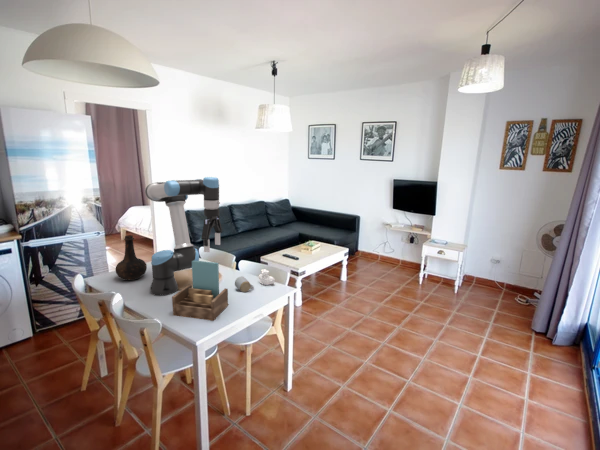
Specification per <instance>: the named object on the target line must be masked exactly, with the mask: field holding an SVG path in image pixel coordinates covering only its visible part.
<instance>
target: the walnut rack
mask: <svg viewBox="0 0 600 450" xmlns="http://www.w3.org/2000/svg"><path fill="white" fill-rule="evenodd" d="M189 288H193V284H188V285H187V286H185V287H184V288H182V289H181V290H180V291H177V293H174V295H172V297H171V301H172V302H171V303H172V316H175V317H180V318H181V317H183V318H190V319H198V320H204V321H213V322H214V321H216V319H217V318H218V317H219V316H220V315H221V313H223V312H224V310H226V308H227V307H228V306H229V305H230V304H229V290H228V289H229V288H224V289H223V290H221V292H219V295H218V296H216V297H215V298H213V300H212V301H211V305H210V304H202V303H194V301H193V299H189Z"/></svg>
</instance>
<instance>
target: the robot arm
mask: <svg viewBox="0 0 600 450" xmlns="http://www.w3.org/2000/svg"><path fill="white" fill-rule="evenodd" d="M219 180H220V179H219V178H218V177H216V176H215V177H212V176H205V177H203V179H202V178H201V179H200V178H197V179H184V180H178V179H176V180H175V179H173V180H167V181H165V182H164V181H163V182H161V181H160V182H158V181H157V182H152V183H149V184H148V185H147V186H146V187H145V188H144V194H145V196H146V198H147V199H149V201H153V202H157V203H161V202H163V203H164V202H165V206H166V207H168V211H169V216H170V220H171V221H170V222H171V227H172V232H173V233H172V234H173V238H174V243H175V244H174V245H175V246H174V248H173V250H171V249H165V250H160V251H157V252H155V253H154V254H152V255H151V262H150V264H151V273H152V280H151V285H150V287H149V292H150V294H151V295H154V296H159V297H161V296H167V295H172V294H175V293H176V292H178V290H179V284H178V282H177V280H176V277H175V273H176V272H179V271H183V270H188V269H189V270H190V269H192V261H193V260H194V261H200V253H199V249H197V248H195V247H194V244H193V243H191V239H190V234H189V229H188V223H187V217H186V211H185V204H186V201H187V199H188V198H189V196H196V195H203V208H204V209H203V215H204V216H205V217H206V219H203V227H202V232H201V233H202V234H201V238H200V239H201V240H203V252H204V253H210V252H211V249H210V248H211V246H210V243H211V242H210V236H211V231H212V229H213V230H214V231H215V233H214V245H215V246H216V245H217V246H221V234H222V233H223V228H222V224H221V219H220V204H221V202H220V183H219V182H220V181H219Z"/></svg>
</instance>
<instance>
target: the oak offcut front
mask: <svg viewBox="0 0 600 450" xmlns="http://www.w3.org/2000/svg"><path fill="white" fill-rule="evenodd" d="M212 300H213V295H204V294H196V293H195V294H193V301H194V303H202V304H210V305H211V301H212Z"/></svg>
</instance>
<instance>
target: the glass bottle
mask: <svg viewBox="0 0 600 450" xmlns="http://www.w3.org/2000/svg"><path fill="white" fill-rule="evenodd" d="M123 240H124V242H125V243H124V246H125V247H124V256H123V259H122V260H120V261H119V262H118V263H117V264H116V266H115V273H116V276H117V277H119V279H121V280H123V281H135V280H138V279H140V278H141V277H143V276H144V275H145V273H146V271H147V266H148V265H147V262H145V260H144V259H142V258H138V257H137V256H136V252H135V247H134V246H135V245H134V240H135V238H134V237H133V235H132V234H131V235H125V236H124V238H123Z"/></svg>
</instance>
